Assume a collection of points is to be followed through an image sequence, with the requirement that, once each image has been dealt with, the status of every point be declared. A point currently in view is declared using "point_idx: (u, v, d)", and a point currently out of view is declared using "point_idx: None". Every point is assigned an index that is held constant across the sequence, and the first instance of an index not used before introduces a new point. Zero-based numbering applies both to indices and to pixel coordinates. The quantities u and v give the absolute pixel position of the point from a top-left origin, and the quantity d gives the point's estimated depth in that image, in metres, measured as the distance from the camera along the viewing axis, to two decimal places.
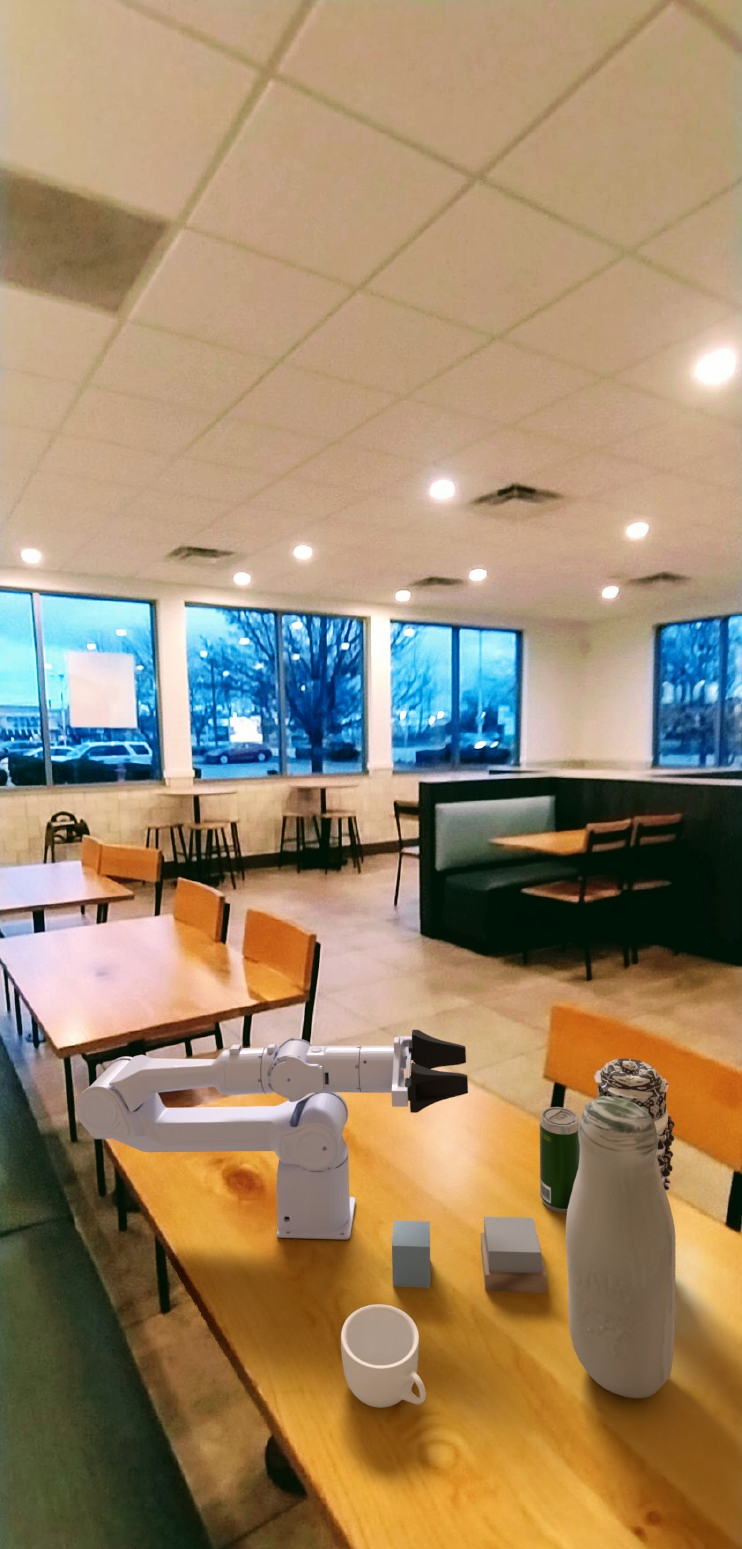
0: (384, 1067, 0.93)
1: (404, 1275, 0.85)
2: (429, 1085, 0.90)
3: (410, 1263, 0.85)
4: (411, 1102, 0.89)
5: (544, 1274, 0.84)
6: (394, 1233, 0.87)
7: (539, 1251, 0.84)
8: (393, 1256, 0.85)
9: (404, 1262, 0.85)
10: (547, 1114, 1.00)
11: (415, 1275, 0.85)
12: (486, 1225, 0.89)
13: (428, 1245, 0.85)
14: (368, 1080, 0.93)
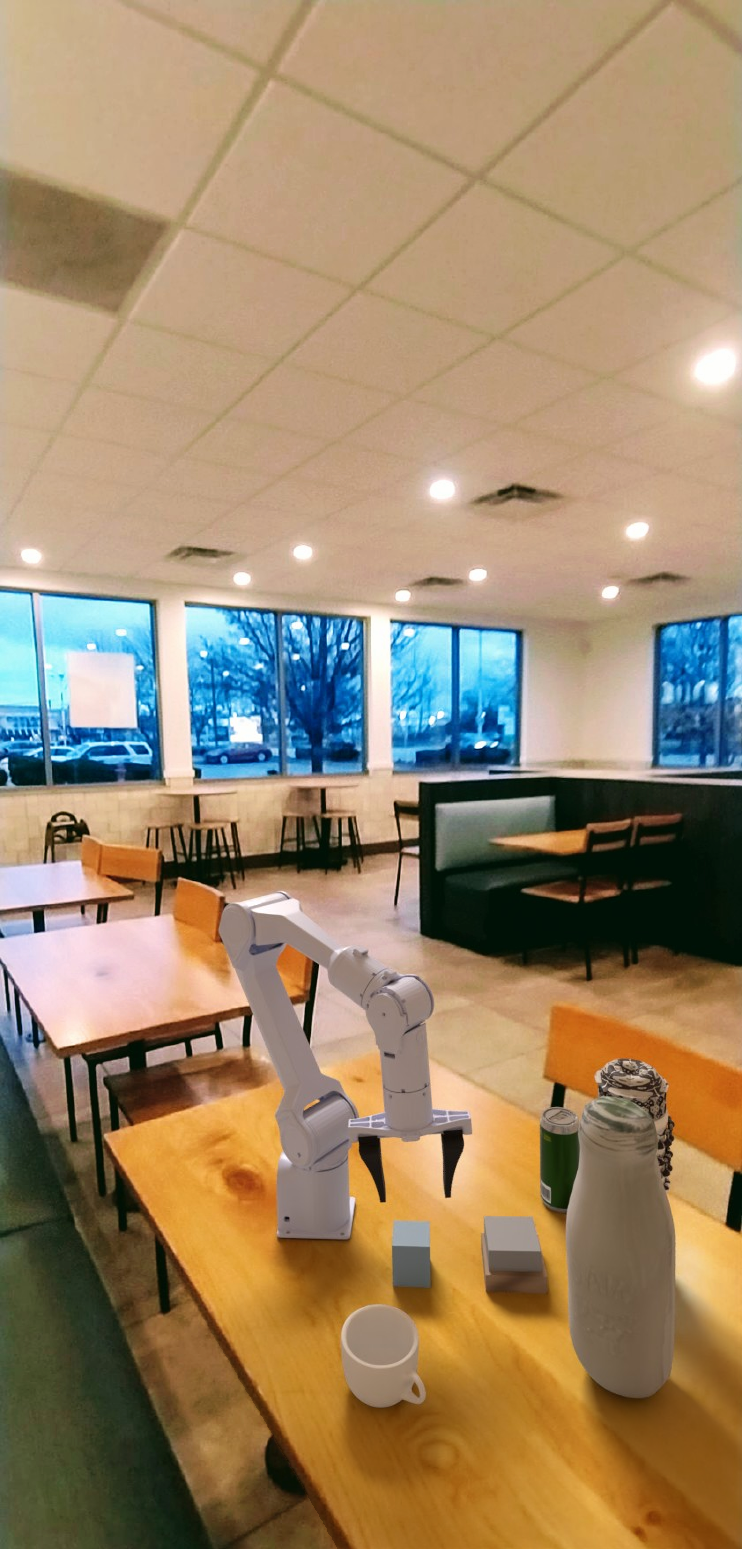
0: (387, 1116, 0.85)
1: (404, 1275, 0.85)
2: None
3: (410, 1263, 0.85)
4: None
5: (545, 1274, 0.84)
6: (394, 1233, 0.87)
7: (539, 1250, 0.85)
8: (393, 1256, 0.85)
9: (404, 1262, 0.85)
10: (547, 1114, 1.00)
11: (415, 1275, 0.85)
12: (486, 1224, 0.89)
13: (428, 1245, 0.85)
14: None
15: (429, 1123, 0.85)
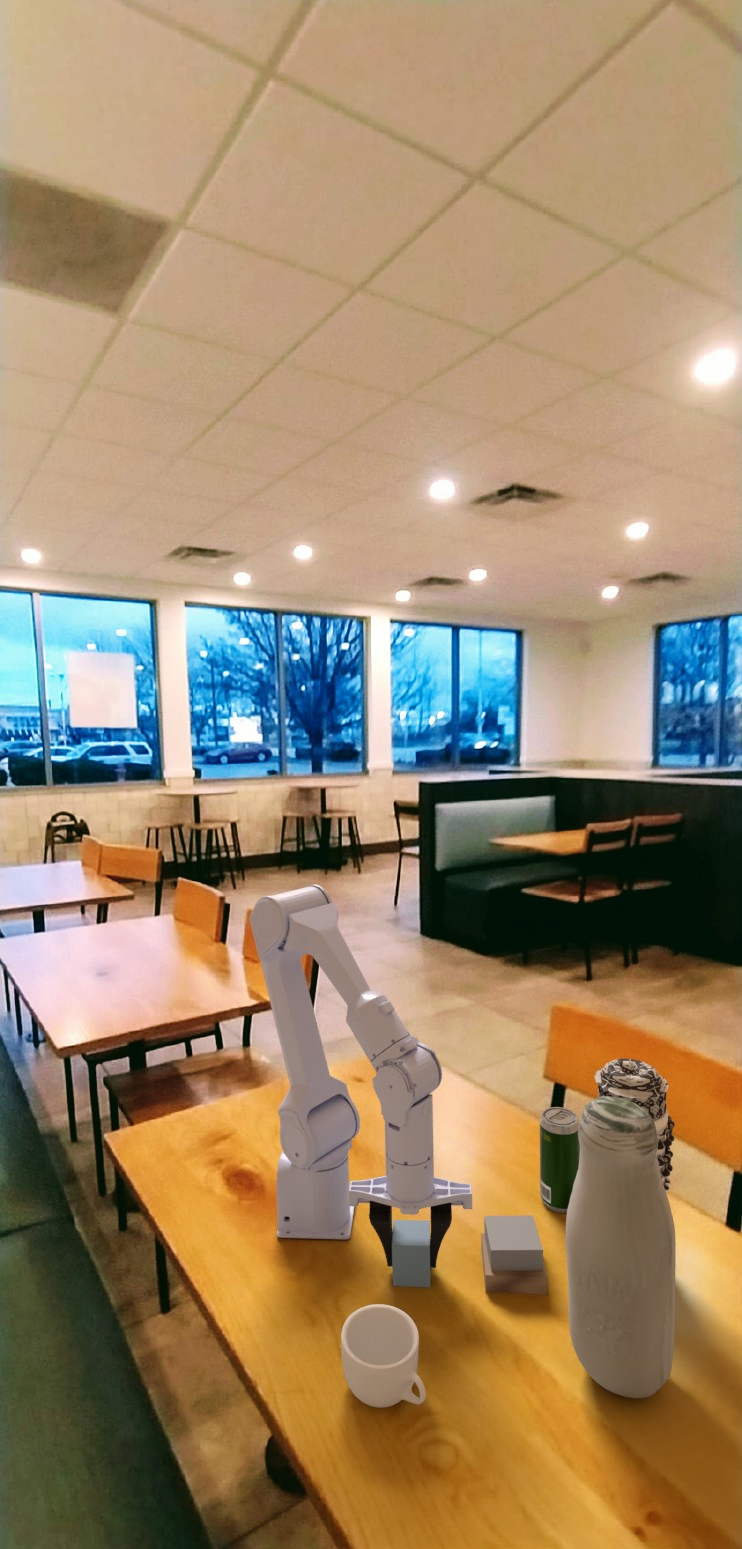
0: (388, 1184, 0.86)
1: (404, 1274, 0.85)
2: None
3: (410, 1262, 0.85)
4: None
5: (544, 1275, 0.84)
6: (394, 1232, 0.87)
7: (541, 1248, 0.85)
8: (393, 1255, 0.85)
9: (404, 1261, 0.85)
10: (547, 1114, 1.00)
11: (415, 1274, 0.85)
12: (487, 1224, 0.89)
13: (428, 1244, 0.85)
14: None
15: (429, 1195, 0.85)
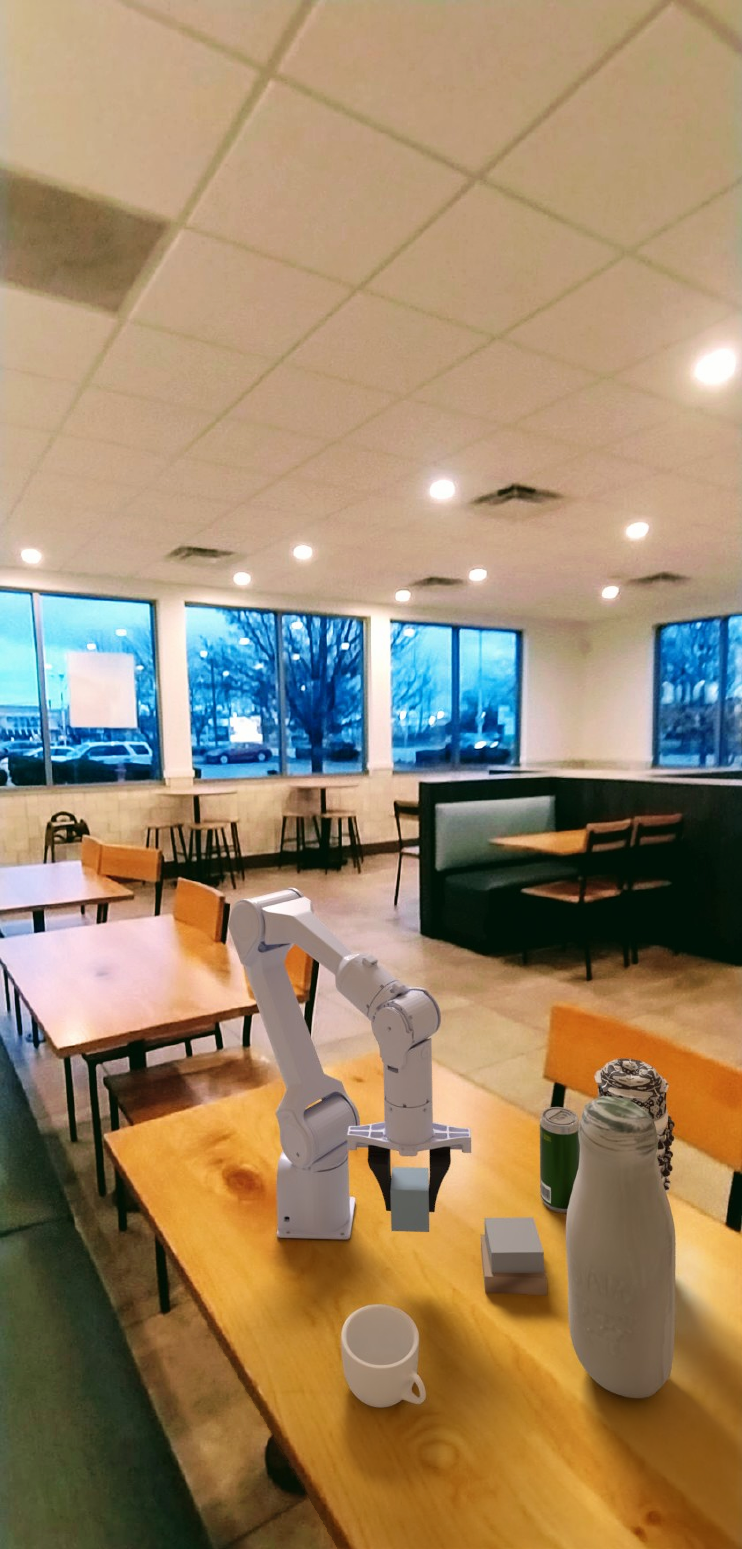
0: (387, 1128, 0.85)
1: (402, 1219, 0.85)
2: None
3: (408, 1207, 0.85)
4: None
5: (544, 1276, 0.84)
6: (393, 1178, 0.87)
7: (542, 1251, 0.84)
8: (392, 1200, 0.85)
9: (403, 1206, 0.85)
10: (547, 1114, 1.00)
11: (414, 1219, 0.85)
12: (487, 1226, 0.89)
13: (427, 1189, 0.85)
14: None
15: (428, 1138, 0.85)
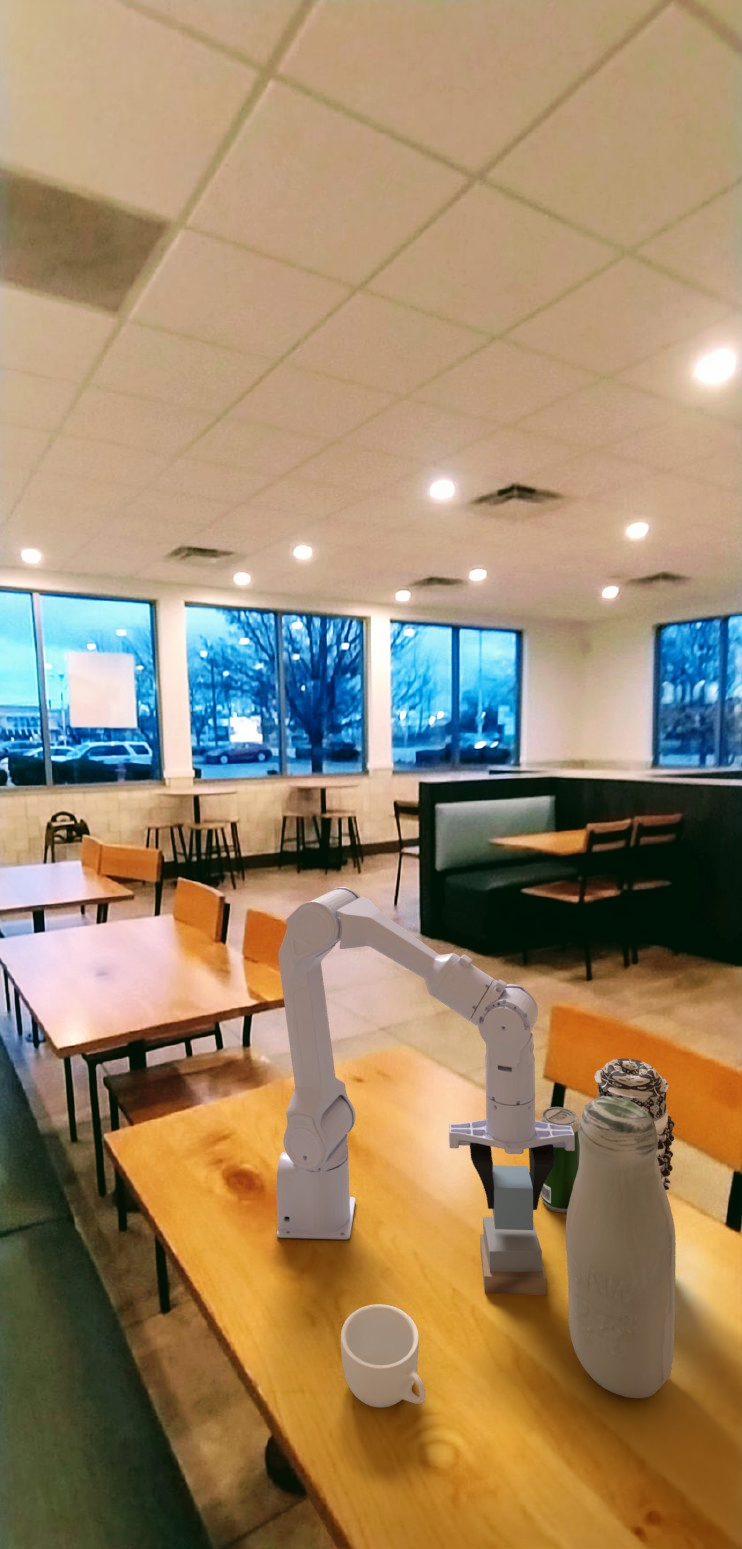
0: (490, 1126, 0.85)
1: (506, 1217, 0.85)
2: None
3: (513, 1205, 0.85)
4: None
5: (543, 1276, 0.84)
6: (494, 1176, 0.87)
7: (540, 1249, 0.85)
8: (496, 1198, 0.85)
9: (507, 1204, 0.85)
10: (547, 1114, 1.00)
11: (518, 1217, 0.85)
12: (486, 1225, 0.89)
13: (531, 1187, 0.85)
14: (486, 1101, 0.87)
15: (532, 1136, 0.85)
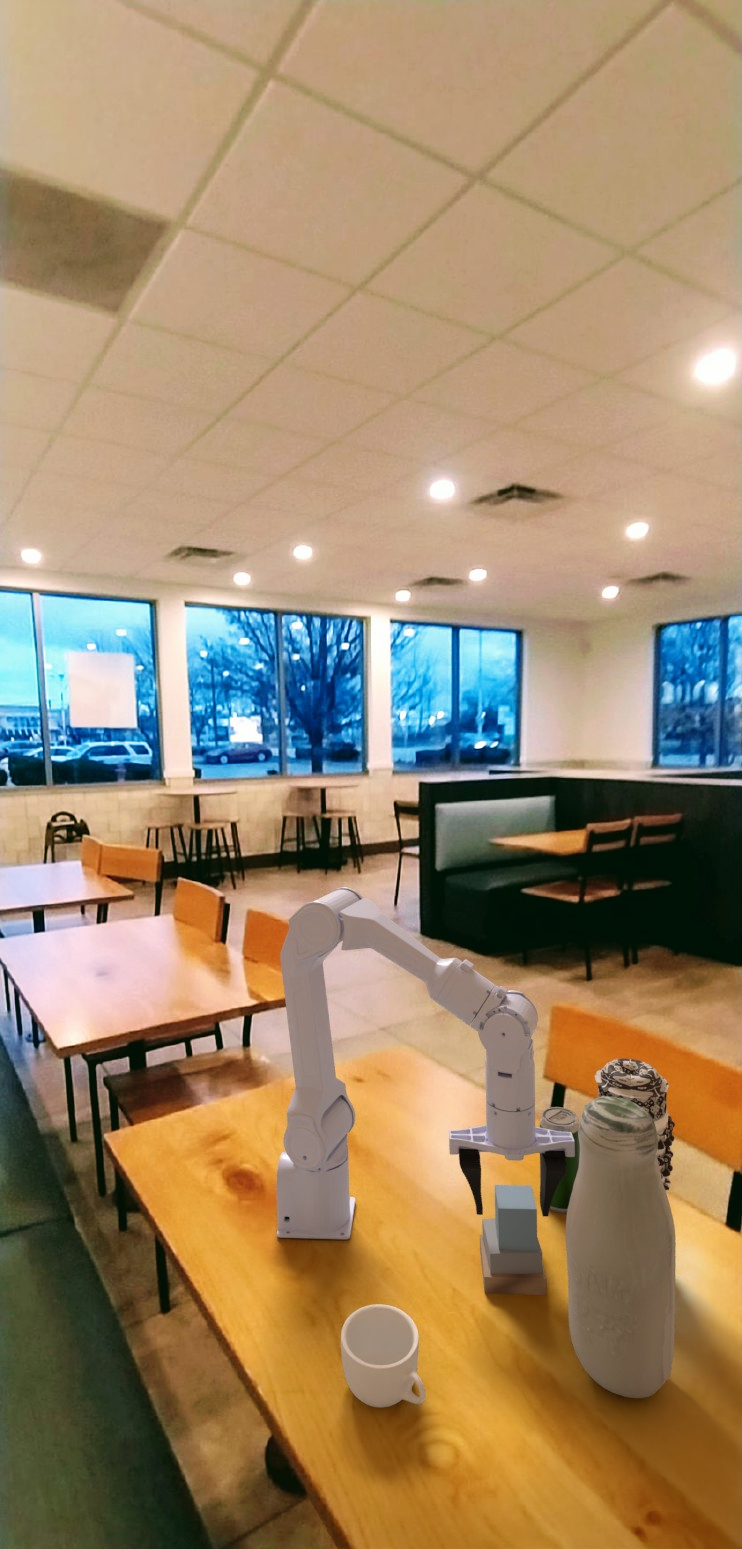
0: (490, 1132, 0.85)
1: (510, 1238, 0.85)
2: None
3: (516, 1226, 0.84)
4: None
5: (543, 1276, 0.84)
6: (498, 1196, 0.87)
7: (540, 1251, 0.84)
8: (499, 1219, 0.85)
9: (510, 1225, 0.85)
10: (547, 1114, 1.00)
11: (522, 1238, 0.85)
12: (485, 1227, 0.89)
13: (535, 1208, 0.84)
14: (486, 1108, 0.87)
15: (532, 1142, 0.85)
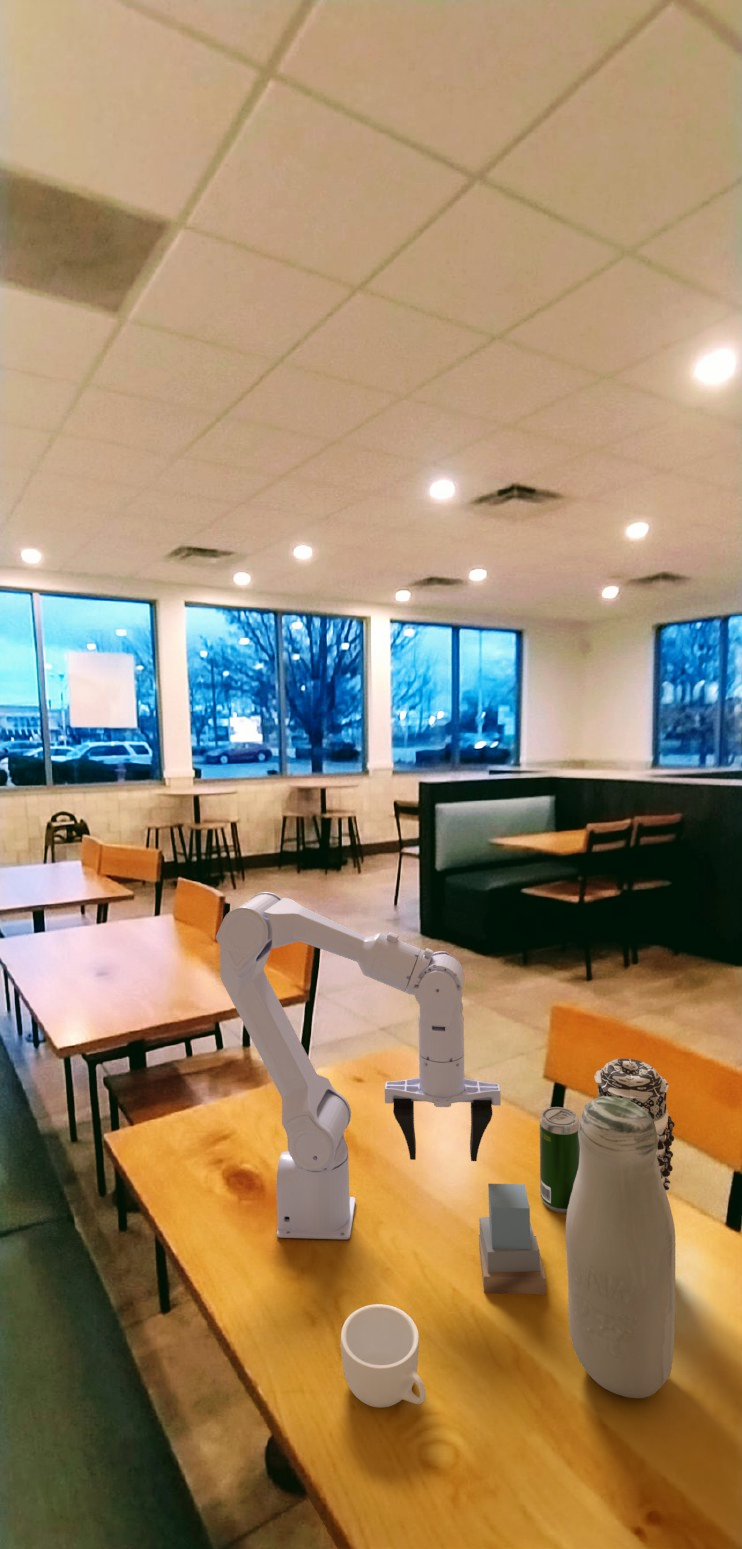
0: (422, 1082, 0.92)
1: (503, 1237, 0.85)
2: None
3: (509, 1225, 0.85)
4: None
5: (543, 1275, 0.84)
6: (491, 1195, 0.87)
7: (537, 1249, 0.85)
8: (492, 1218, 0.85)
9: (503, 1224, 0.85)
10: (547, 1114, 1.00)
11: (515, 1237, 0.85)
12: (482, 1226, 0.89)
13: (528, 1206, 0.85)
14: None
15: (460, 1092, 0.91)
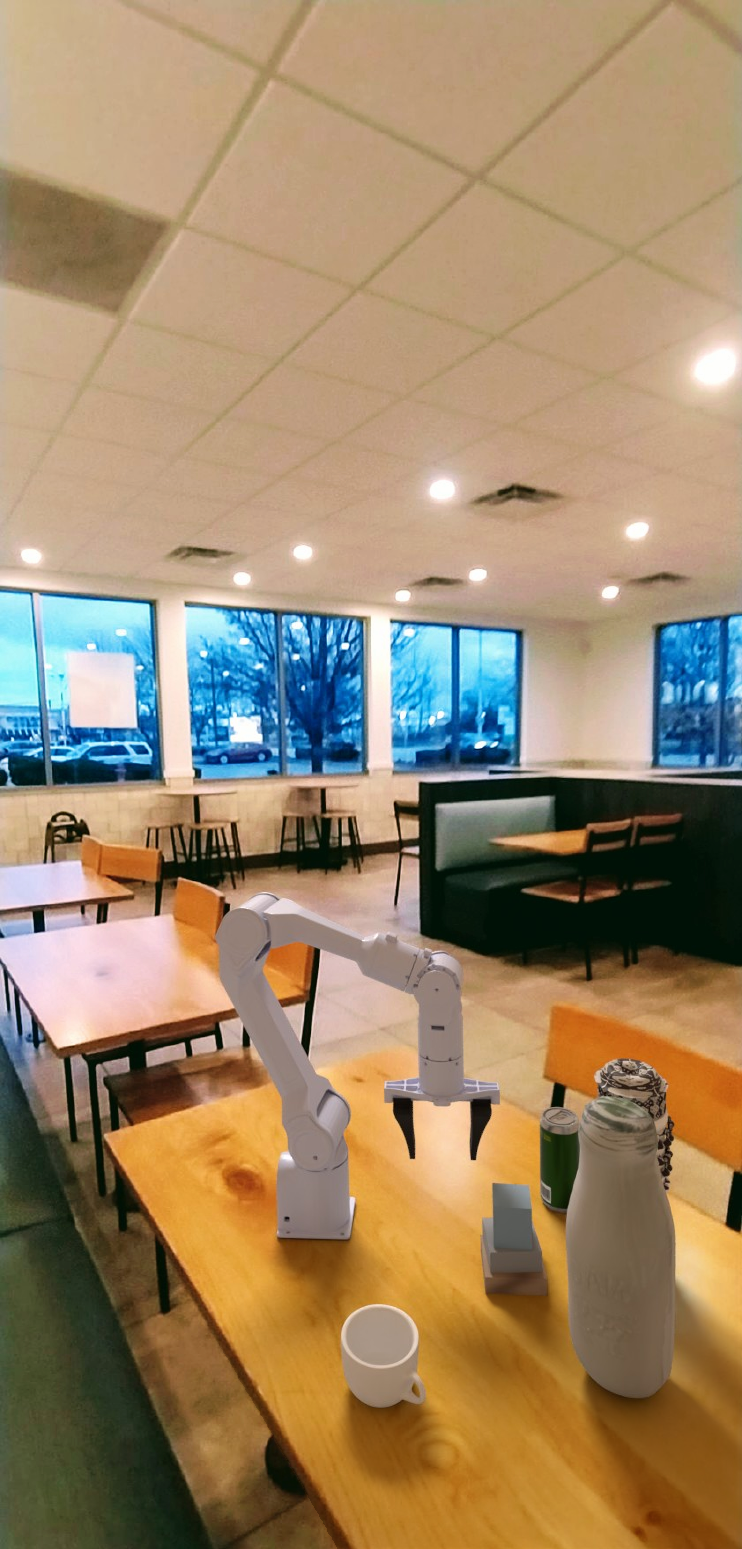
0: (421, 1081, 0.92)
1: (505, 1236, 0.85)
2: None
3: (511, 1224, 0.85)
4: None
5: (544, 1276, 0.84)
6: (494, 1195, 0.87)
7: (540, 1250, 0.85)
8: (494, 1217, 0.85)
9: (505, 1223, 0.85)
10: (547, 1114, 1.00)
11: (516, 1237, 0.85)
12: (485, 1226, 0.89)
13: (530, 1207, 0.84)
14: (418, 1059, 0.93)
15: (460, 1091, 0.91)
